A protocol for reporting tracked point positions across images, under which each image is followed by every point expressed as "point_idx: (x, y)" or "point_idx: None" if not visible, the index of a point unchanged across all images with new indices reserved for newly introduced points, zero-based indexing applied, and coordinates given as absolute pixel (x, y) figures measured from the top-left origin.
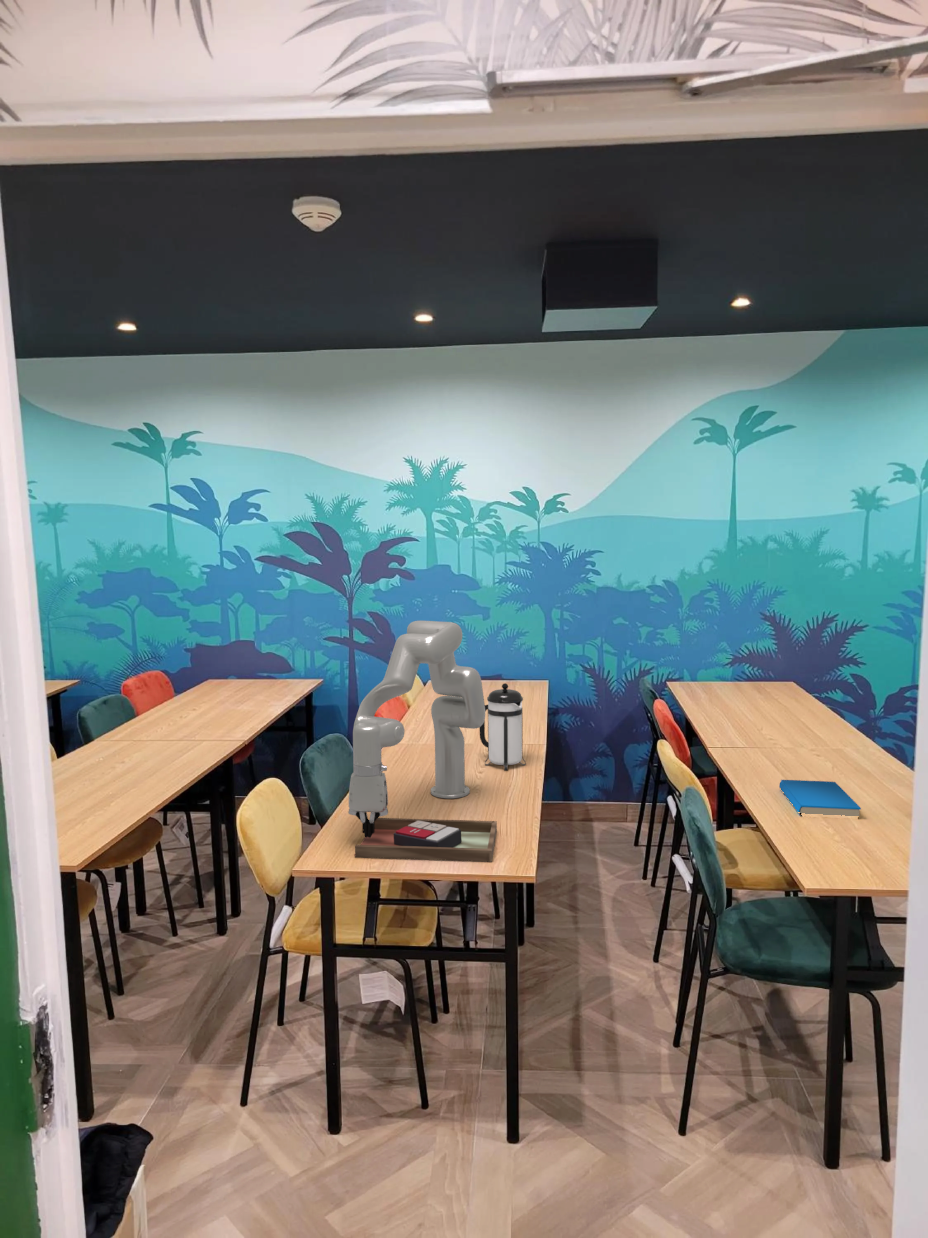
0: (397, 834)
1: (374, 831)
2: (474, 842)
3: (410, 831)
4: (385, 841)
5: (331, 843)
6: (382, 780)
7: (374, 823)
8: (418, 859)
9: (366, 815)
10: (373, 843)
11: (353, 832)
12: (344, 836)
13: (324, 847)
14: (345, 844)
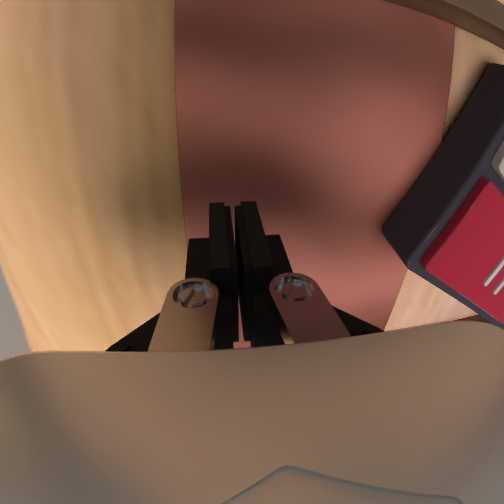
0: (425, 278)
1: (277, 234)
2: None
3: (487, 283)
4: (334, 196)
5: (32, 250)
6: None
7: (292, 271)
8: None
9: (215, 332)
10: (264, 231)
11: (71, 60)
12: (42, 142)
13: (34, 294)
14: (102, 253)
